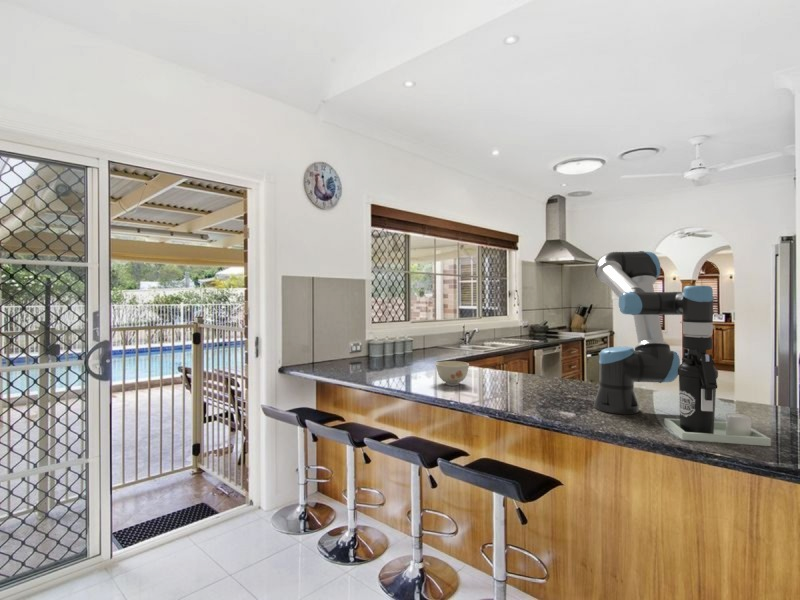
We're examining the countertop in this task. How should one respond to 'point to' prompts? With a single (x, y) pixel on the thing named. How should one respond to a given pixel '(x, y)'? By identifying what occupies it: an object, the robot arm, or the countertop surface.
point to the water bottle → (694, 400)
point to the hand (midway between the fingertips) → (696, 404)
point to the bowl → (452, 371)
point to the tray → (718, 434)
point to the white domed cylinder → (738, 424)
